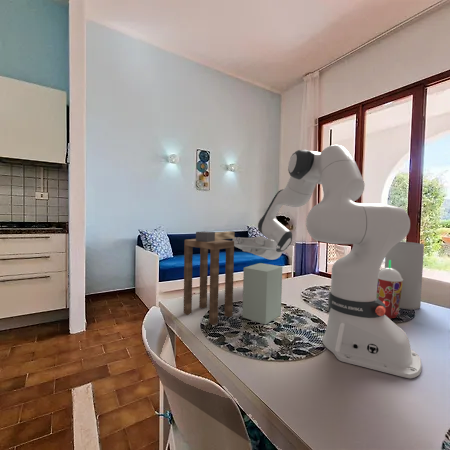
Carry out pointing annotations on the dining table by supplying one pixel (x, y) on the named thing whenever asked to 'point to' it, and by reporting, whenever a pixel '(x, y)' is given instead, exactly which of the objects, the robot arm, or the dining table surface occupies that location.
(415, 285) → the cylinder vase
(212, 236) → the mallet
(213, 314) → the plant stand
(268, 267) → the pale green block
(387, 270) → the smoothie
